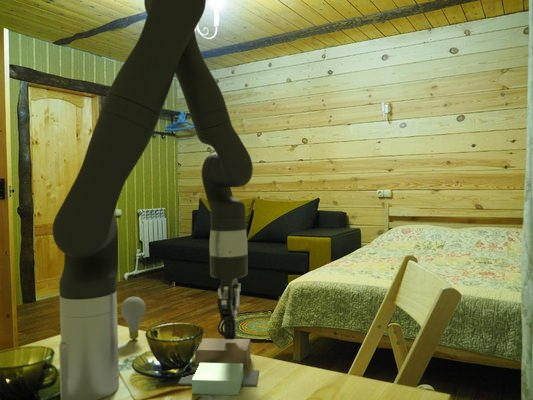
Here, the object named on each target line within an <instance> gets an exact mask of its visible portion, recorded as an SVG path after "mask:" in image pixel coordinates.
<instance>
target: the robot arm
mask: <svg viewBox="0 0 533 400" xmlns="http://www.w3.org/2000/svg"><path fill="white" fill-rule="evenodd" d="M206 2H207V0H144V2H143V3H144V10H145V12H146V18H145V22H144V24H143V27H142V31H141V33H140V35H139V37H138V40H137V41H136V43H135V45H134V47H133V49H132V50H131V52H130V53H129V55H128V56H127V58H126V60H125V61H124V63H123V65H122V66H121V67H120V69H119V71H118V72H117V75H116V76H115V77H114V80H113V81H112V84H111V86H110V88H109V90H108V92H107V94H106V97H105V99H104V102H103V105H102V107H101V109H100V111H99V114H98V118H97V121H96V123H95V126H94V129H93V132H92V135H91V137H90V140H89V142H88V145H87V149H86V151H85V155H84V159H83V161H82V164H81V166H80V169H79V172H78V174H77V175H76V178H75V180H74V182H73V183H72V185H71V187H70V189H69V191H68V193H67V194H66V196H65V198H64V200H63V203H62V204H61V205H60V207H59V209H58V212H57V213H56V215H55V217H54V220H53V224H52V236H53V242H54V243H55V245H56V247H57V248H58V249H59V251H61V253H64V258H63V259H64V261H63V262H64V263H63V270H62V274H61V276H60V279H59V282H58V283H59V285H58V287H59V288H58V290H59V291H58V292H59V318H60V319H59V320H60V343H59V344H58V347H59V348H58V353H59V354H58V355H59V359H58V361H59V384H60V385H59V387H60V390H59V391H60V400H101V399H104V398H106V397H108V396H111V395H112V394H114V393H115V392H116V391H117V390H118V389H119V388H120V371H119V369H120V366H119V335H118V334H119V331H118V329H119V328H118V325H119V324H118V298H117V297H118V295H117V291H118V290H117V283H118V282H117V280H118V273H119V226H118V220H117V217H116V214H115V212H116V208H117V204H118V202H119V199H120V196H121V194H122V191H123V189H124V186H125V183H126V181H127V180H128V178H129V176H130V174H131V172H133V170H134V168H135V167H136V165H137V164H138V162H139V160H140V159H141V157H142V156H143V154H144V153H145V151H146V149H147V146H148V145H149V143H150V141H151V139H152V137H153V135H154V132H155V130H156V127H157V124H158V121H159V119H160V116H161V114H162V112H163V109H164V105H165V103H166V101H167V98H168V95H169V92H170V89H171V86H172V83H173V80H174V77H175V76H176V79H177V80H178V83H179V86H180V89H181V91H182V94H183V98H184V100H185V104H186V106H187V109H188V111H189V116H190V118H191V122H192V125H193V127H194V130H195V133H196V136H197V138H198V140H199V141H200V143H202V144H204V145H208V146H211V147H212V148H213V150H214V151H215V152H214V153H210V154H209V155H207V156H206V158H205V159H204V161H203V164H202V166H201V181H202V184H203V188H204V192H205V197H206V200H207V203H208V207H209V210H210V211H209V214H210V215H209V216H210V218H209V219H210V221H209V223H210V232H209V233H210V235H209V274H210V277H212V278H214V279H219V280H220V286H218V288H217V296H218V297H219V298H218V299H217V302H216V303H217V307H218V311H219V317H220V320H221V321H223V335H224V336H223V339H236V337H237V318H238V313H239V309H240V308H239V306H240V293H241V283H238V279H241V278H244V277H246V276H247V275H248V274H249V269H248V268H249V265H248V264H249V261H248V258H249V256H248V255H249V254H248V236H247V229H246V227H247V225H246V220H247V219H246V213H247V211H246V205H245V203H244V202H243V201H241V199H237V198H235V197H234V195H233V192H232V188H241V187H244V186H246V185H247V184H248V183H249V182H250V180H251V179H252V176H253V173H254V171H253V170H254V169H253V168H254V167H253V166H254V165H253V161H252V157H251V155H250V153H249V152H248V150H247V148H246V146H245V144H244V143H243V142H242V139H241V138H240V136H239V135H238V133H237V132H236V129H234V126H233V125H232V120H231V118H230V117H231V116H230V114H229V111H228V107H227V104H226V101H225V97H224V95H223V92H222V90H221V88H220V86H219V84H218V82H217V80H216V79H215V77H214V76H213V73H212V72H211V69H209V67H208V65H207V64H206V63H207V62H206V61H205V59H204V57H203V54H202V51H201V50H200V47H199V44H198V40H197V37H196V31H195V30H196V28H197V25H198V24H199V23H200V21H201V19H202V17H203V14H204V12H205V9H206Z"/></svg>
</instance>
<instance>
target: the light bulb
mask: <svg viewBox="0 0 533 400" xmlns="http://www.w3.org/2000/svg"><path fill="white" fill-rule="evenodd" d="M144 301H145V300H143V299H142V298H141V297H139V296H131V297H127V298H126V299H125V300H124V301H123V302H122V304H121V306H120V313H121V315H122V318H123V319H124V320H125V322H126V323H127V326H128V331H129V333H128V334H129V339H131V340H133V341H134V340H135V341H136V339H138V338H139V330H140V323H141V321H142V319H143V317H144V316H145V313H146V308H147V307H146V303H145V302H144Z"/></svg>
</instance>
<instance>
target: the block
mask: <svg viewBox="0 0 533 400" xmlns="http://www.w3.org/2000/svg"><path fill="white" fill-rule="evenodd" d="M242 380H243V364H235V363H199V366H198V368H197V370H196V372H195V374H194V376H193V378H192V385H191V394H193V395H194V394H195V395H197V394H199V395H221V396H223V395H225V396H226V395H227V396H239V395H240V392H241V388H242V386H241V384H242Z"/></svg>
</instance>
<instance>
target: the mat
mask: <svg viewBox="0 0 533 400" xmlns="http://www.w3.org/2000/svg"><path fill="white" fill-rule="evenodd" d="M259 374H260V370H258V369H248V370H243V380H242V384H241V387H257V384H258V378H259ZM193 376H194V374H193V375H189V376H186V377H182V376H181V378H180V379H179V380H178V383H177V385H179V386H192V378H193Z"/></svg>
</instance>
